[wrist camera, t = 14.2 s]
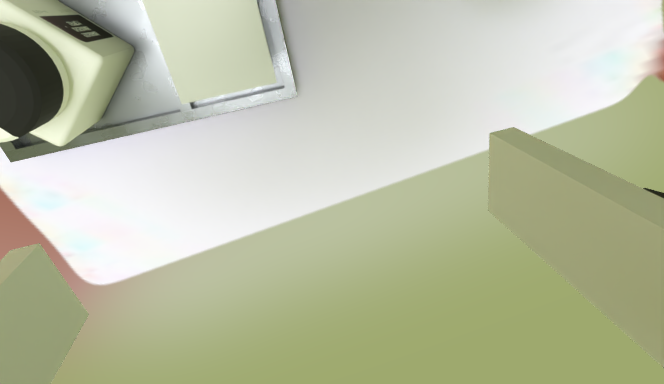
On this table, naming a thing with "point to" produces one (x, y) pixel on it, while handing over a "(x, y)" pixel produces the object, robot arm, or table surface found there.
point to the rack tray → (157, 81)
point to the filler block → (211, 46)
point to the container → (55, 70)
